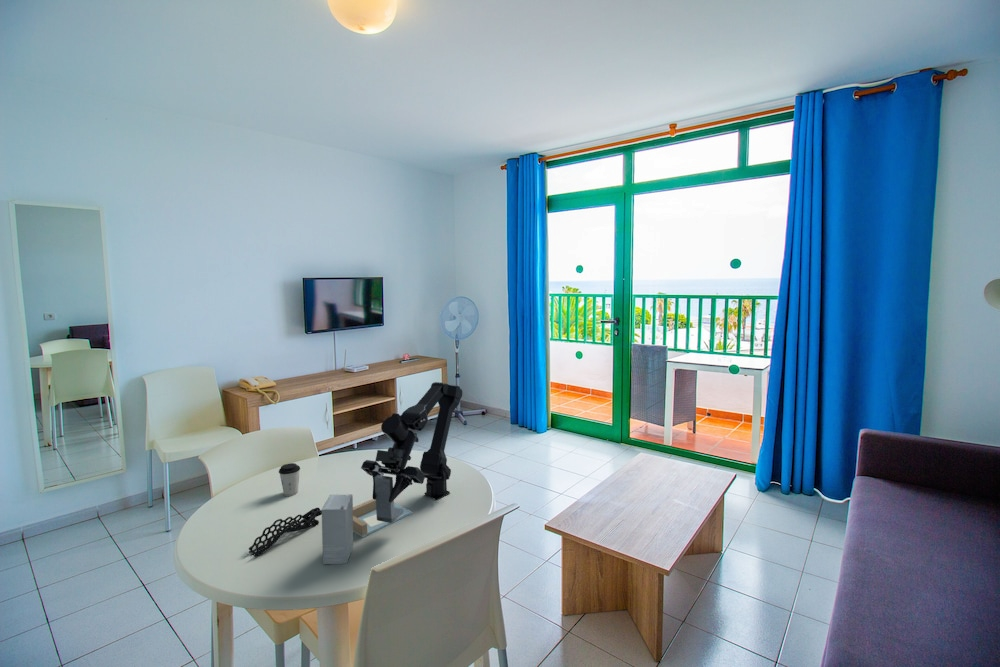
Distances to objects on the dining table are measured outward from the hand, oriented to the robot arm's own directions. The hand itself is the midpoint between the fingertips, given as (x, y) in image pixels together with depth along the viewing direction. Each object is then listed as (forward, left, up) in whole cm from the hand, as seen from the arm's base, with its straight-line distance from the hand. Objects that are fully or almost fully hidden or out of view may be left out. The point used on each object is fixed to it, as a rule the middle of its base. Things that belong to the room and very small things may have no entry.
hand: (381, 500), depth 130 cm
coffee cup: (+3, -51, -12) cm, 53 cm away
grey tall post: (-3, -1, -7) cm, 7 cm away
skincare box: (+12, -3, -12) cm, 18 cm away
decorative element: (+16, -24, -13) cm, 31 cm away
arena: (-6, -12, -12) cm, 19 cm away
